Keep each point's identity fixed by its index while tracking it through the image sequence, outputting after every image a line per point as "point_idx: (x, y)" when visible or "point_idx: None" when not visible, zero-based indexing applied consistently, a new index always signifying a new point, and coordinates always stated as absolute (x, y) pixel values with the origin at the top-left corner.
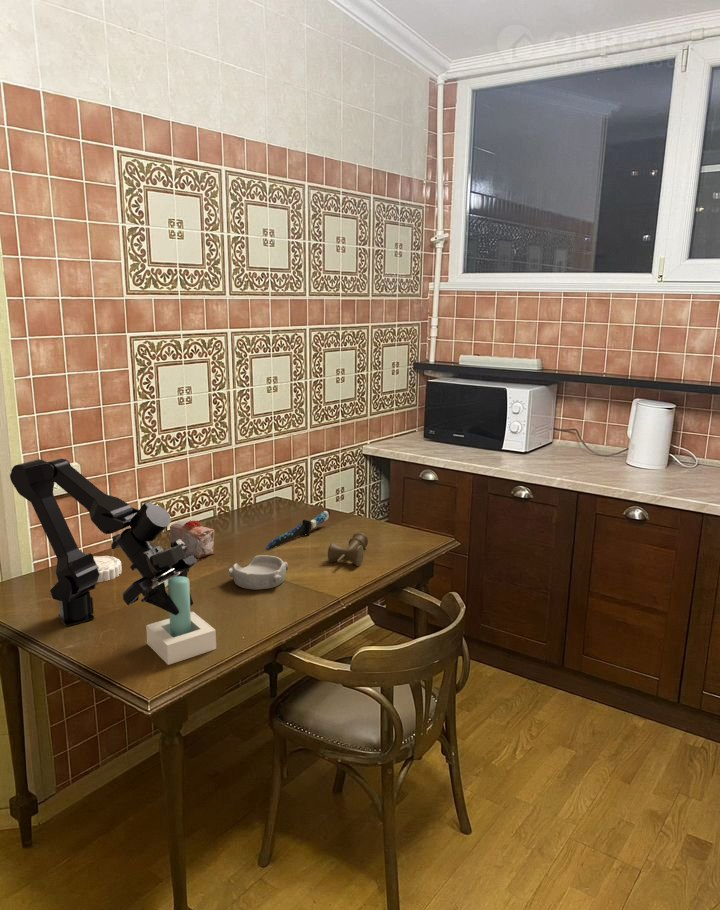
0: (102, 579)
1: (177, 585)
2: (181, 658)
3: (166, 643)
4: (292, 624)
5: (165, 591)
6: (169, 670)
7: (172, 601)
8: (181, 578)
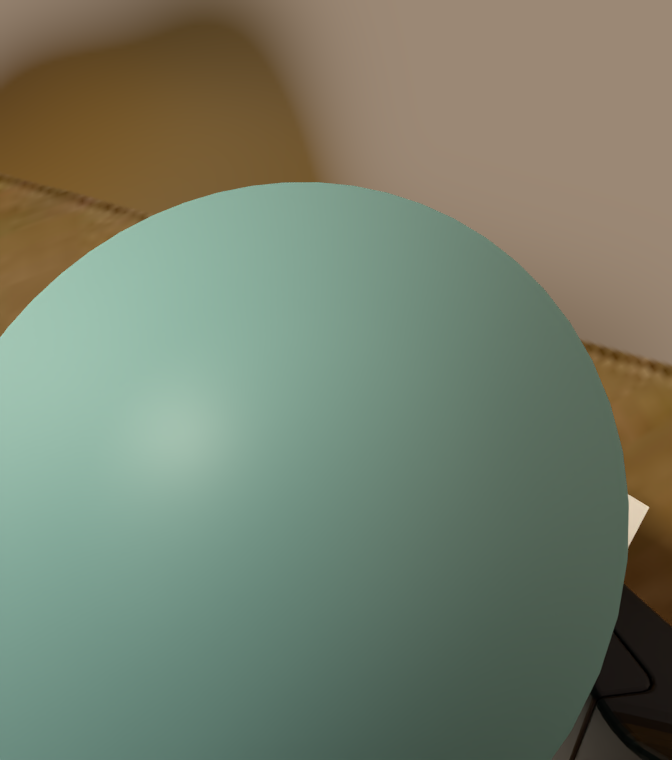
0: None
1: (559, 316)
2: None
3: (630, 527)
4: (83, 195)
5: (629, 723)
6: (629, 489)
7: None
8: (79, 436)
